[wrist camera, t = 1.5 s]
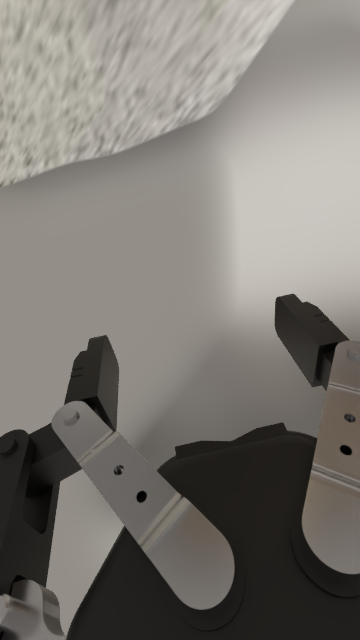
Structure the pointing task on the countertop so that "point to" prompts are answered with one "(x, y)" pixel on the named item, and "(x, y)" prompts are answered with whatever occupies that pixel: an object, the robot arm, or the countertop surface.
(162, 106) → the countertop surface
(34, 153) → the countertop surface
